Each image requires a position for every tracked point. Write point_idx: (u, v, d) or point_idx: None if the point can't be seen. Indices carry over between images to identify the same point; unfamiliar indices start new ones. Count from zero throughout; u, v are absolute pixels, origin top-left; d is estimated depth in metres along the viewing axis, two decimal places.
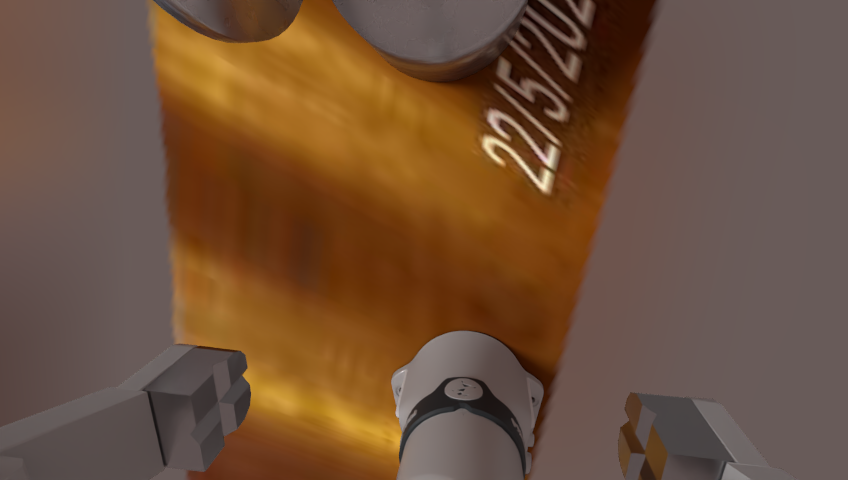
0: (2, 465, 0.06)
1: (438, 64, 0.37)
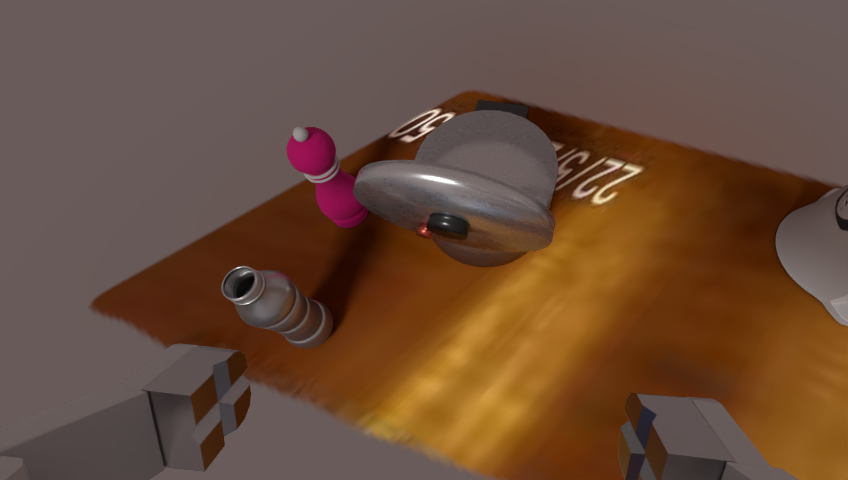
0: (2, 465, 0.06)
1: None
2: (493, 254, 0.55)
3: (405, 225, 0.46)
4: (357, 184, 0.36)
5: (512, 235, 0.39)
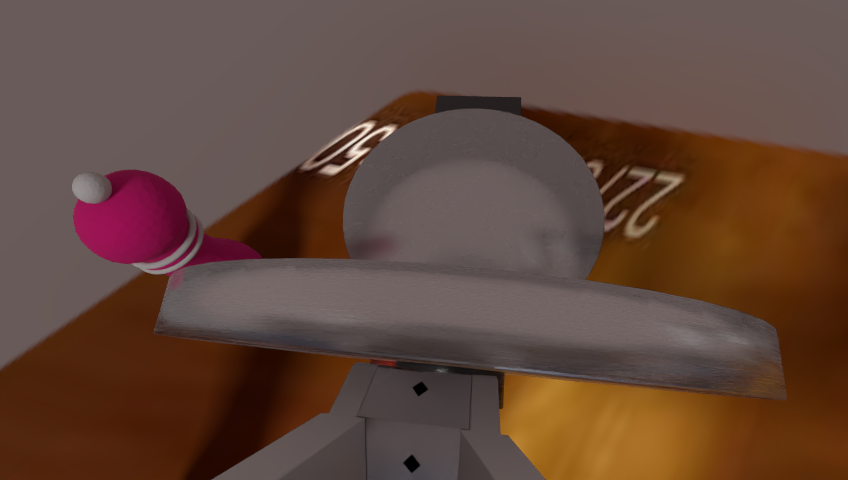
0: None
1: None
2: None
3: None
4: None
5: None
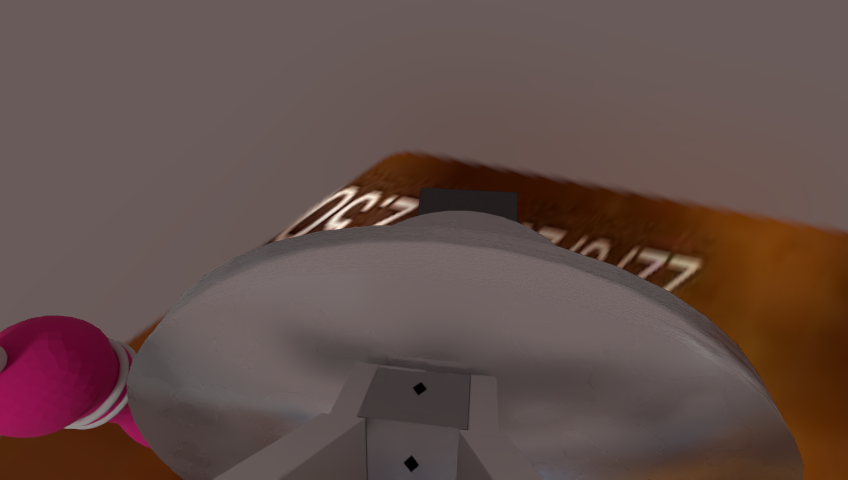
0: None
1: None
2: None
3: None
4: (135, 365, 0.11)
5: None
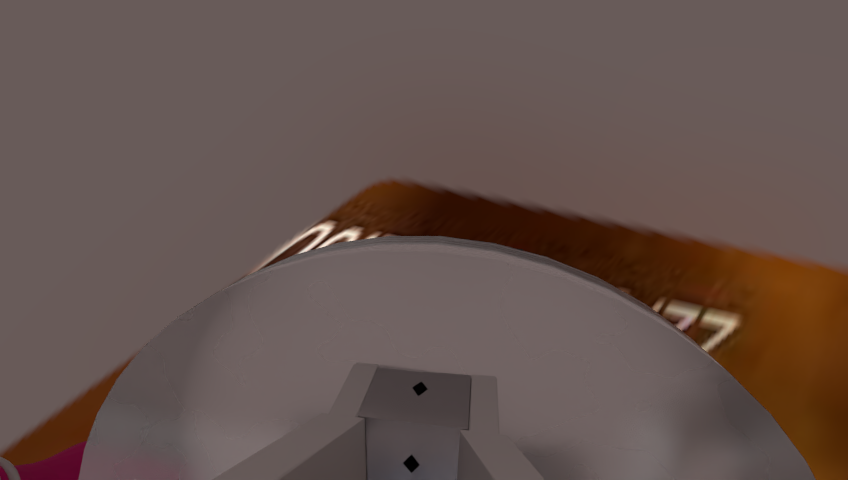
0: None
1: None
2: None
3: None
4: (118, 385, 0.10)
5: None
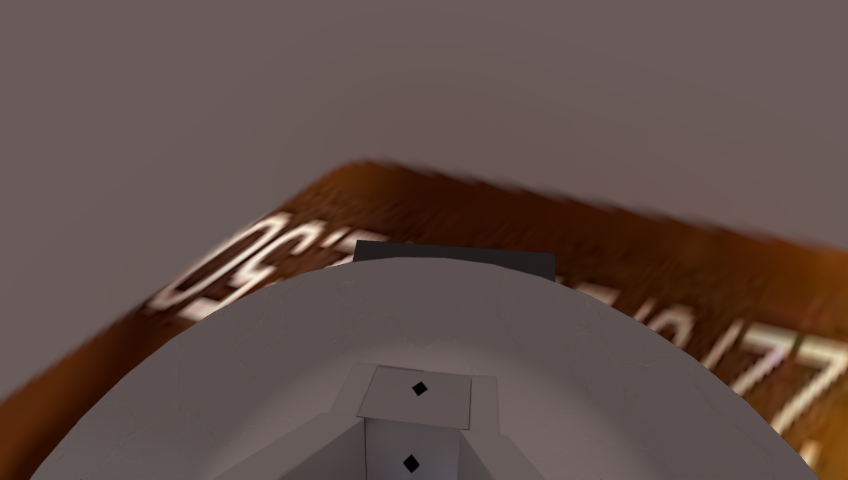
0: None
1: None
2: None
3: None
4: (122, 382, 0.10)
5: None
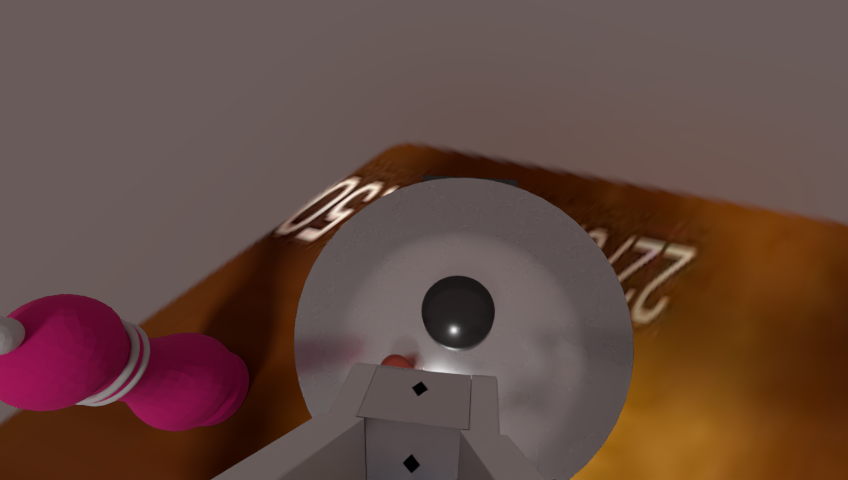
0: None
1: None
2: None
3: None
4: (349, 221, 0.27)
5: (565, 340, 0.23)
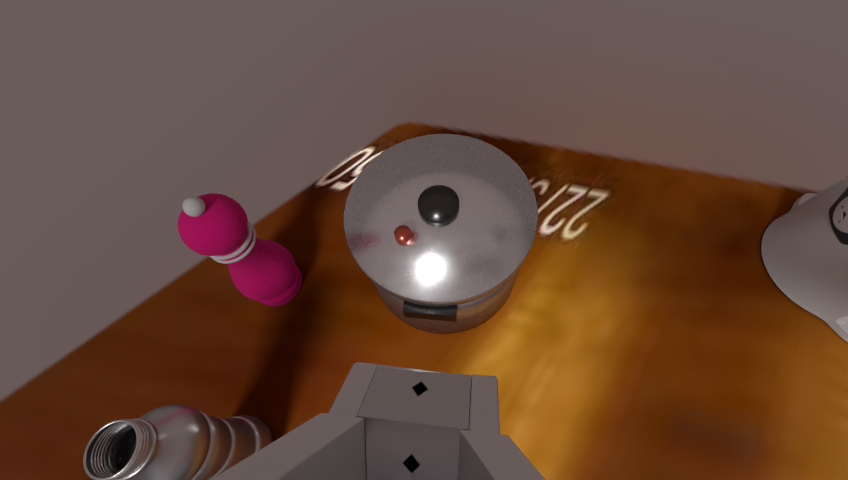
0: None
1: None
2: (465, 320, 0.45)
3: (370, 256, 0.39)
4: (374, 159, 0.44)
5: (499, 219, 0.40)
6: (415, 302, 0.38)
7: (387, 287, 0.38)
